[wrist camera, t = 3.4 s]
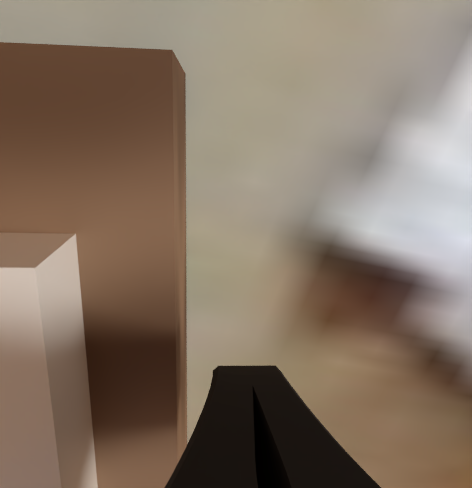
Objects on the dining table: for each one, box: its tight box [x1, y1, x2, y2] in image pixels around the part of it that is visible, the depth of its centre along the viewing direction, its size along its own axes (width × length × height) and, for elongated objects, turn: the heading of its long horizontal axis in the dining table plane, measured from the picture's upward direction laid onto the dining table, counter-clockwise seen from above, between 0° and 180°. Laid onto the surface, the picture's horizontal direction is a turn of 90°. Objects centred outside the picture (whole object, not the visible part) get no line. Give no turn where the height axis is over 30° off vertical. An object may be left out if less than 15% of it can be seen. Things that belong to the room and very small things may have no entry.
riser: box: [0, 42, 187, 488], centre depth 11 cm, size 14×9×4 cm, turn 178°
